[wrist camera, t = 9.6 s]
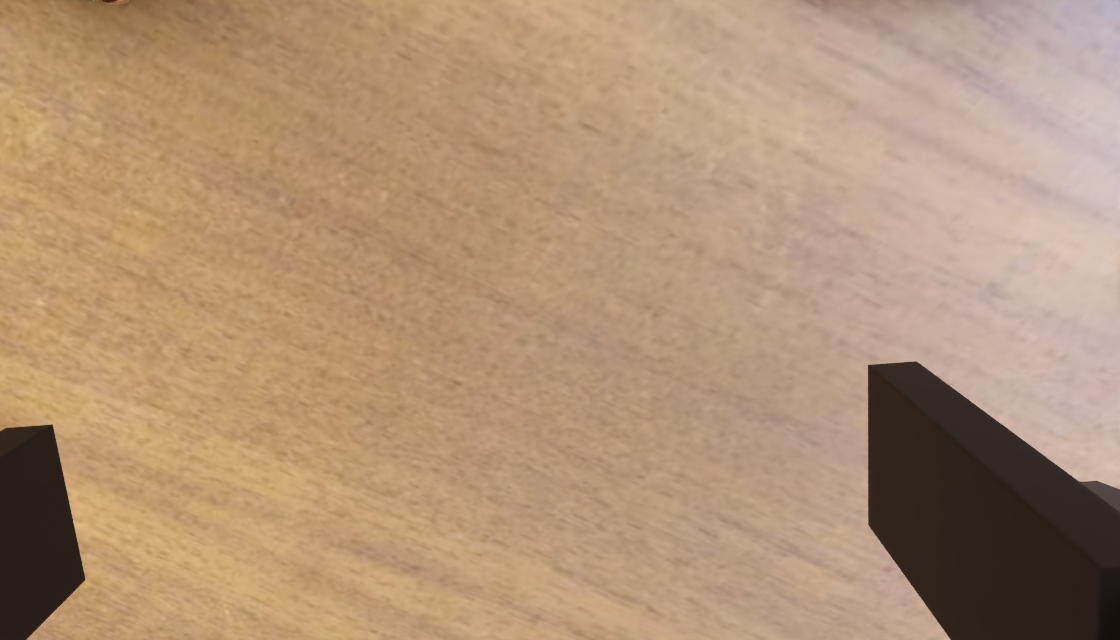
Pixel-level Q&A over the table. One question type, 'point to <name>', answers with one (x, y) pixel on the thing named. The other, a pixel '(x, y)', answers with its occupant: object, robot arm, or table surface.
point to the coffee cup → (111, 1)
